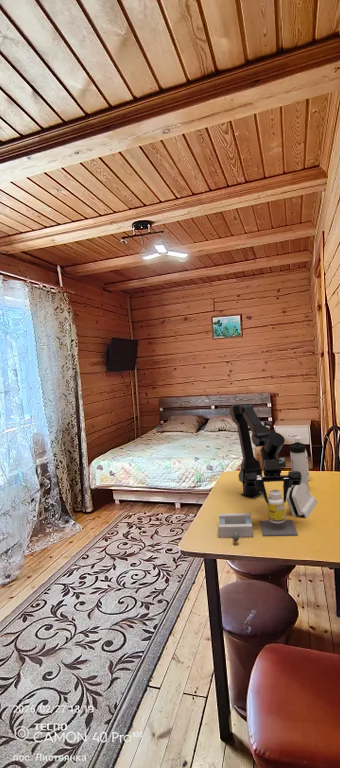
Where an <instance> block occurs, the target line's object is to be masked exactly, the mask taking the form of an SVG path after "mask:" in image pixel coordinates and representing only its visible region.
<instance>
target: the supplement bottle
mask: <svg viewBox="0 0 340 768" xmlns="http://www.w3.org/2000/svg"><path fill="white" fill-rule="evenodd" d="M268 496H269V497H267V498H268V503H267V510H268V513H267V514H268V520H270V521H271V522H273V523H283V522H284V521H285V520H286V511H285V510H286V508H285V503H284V497H282V492H281V490H277V489H273V490H270V491H268Z"/></svg>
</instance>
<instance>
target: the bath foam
mask: <svg viewBox="0 0 340 768" xmlns="http://www.w3.org/2000/svg"><path fill="white" fill-rule="evenodd" d="M295 442H299V443H303V440H302V437H301V436H295V437H294V443H295ZM305 451H306V464H307V477H308V481H310V470H309V456H308V452H307V449H305Z"/></svg>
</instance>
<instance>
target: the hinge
mask: <svg viewBox="0 0 340 768" xmlns="http://www.w3.org/2000/svg"><path fill="white" fill-rule="evenodd" d="M286 503H287V506H288V507H289V510H290V513H291V516H292V517H294V518H295V517H297V516H298V517H299V516H304V518H305V519H308V518H309V516H310V515H311V513H312V511H313V509H314V508H315V507H316V505H317V504H318V501H317V499H316V497H314V496H313V495H312V493H310V490H309V487H308V488H307V486H306V484H305V483H301V484H300V485H292V487H291V488H289V489H288V492H287V497H286Z"/></svg>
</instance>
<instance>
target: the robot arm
mask: <svg viewBox="0 0 340 768" xmlns="http://www.w3.org/2000/svg"><path fill="white" fill-rule="evenodd" d="M229 415H230V416H231V420H232V421H233V422H234V424H235V425H236V426H237V427H236V429H237V433H238V438H239V444H240V445H239V446H240V449H241V450H240V451H241V454H242V461H241V463H240V470H239V473H238V480H239V482H240V483H242V490H243V491H242V493H240V496H242V497H243V496H244V497H246V498H250V499H254V498H257V497H258V496H260V495H262V497H263V499H264V500H265V503H266V504H268V498H269V497H268V494H267V491H266V486H265V483H266V482H267V483H269V482H272V483H273V482H283V484H282V489H283V493H282V494H283V499H284V504H286V503H287V500H286V497H287V492H288V490H289V488H291V487H292V486H293V485H300V484H301V479H302V476H301V473H300V472H299V471H292V470H289V471H288V473H287V474H286V475H281V474H282V468H286V467H287V464H286V459H285V457H278V454H279V453H280V451H281V450H282V448H283V446H284V444H285V442H286V441H285V437H284V436H283V435H282V434H281V433H279V432H277V431H276V429H270V428H269V427H268V426H266V425H264V424H263V423H262V421H261V419H260V418H259V416H258V415H257V413H256V412H255V410H254V407H253V404H252V403H251V402H249V403H242V404H241V403H240V404H232V405H231V407H229ZM250 431H251V435H250ZM252 444H253V445H254V446H255V447H257V448H258V447H261V448H260V457H261V464H260V461H259V460H258V459H256V457H255V455H254V450H253V446H252ZM261 465H262V467H261Z"/></svg>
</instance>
